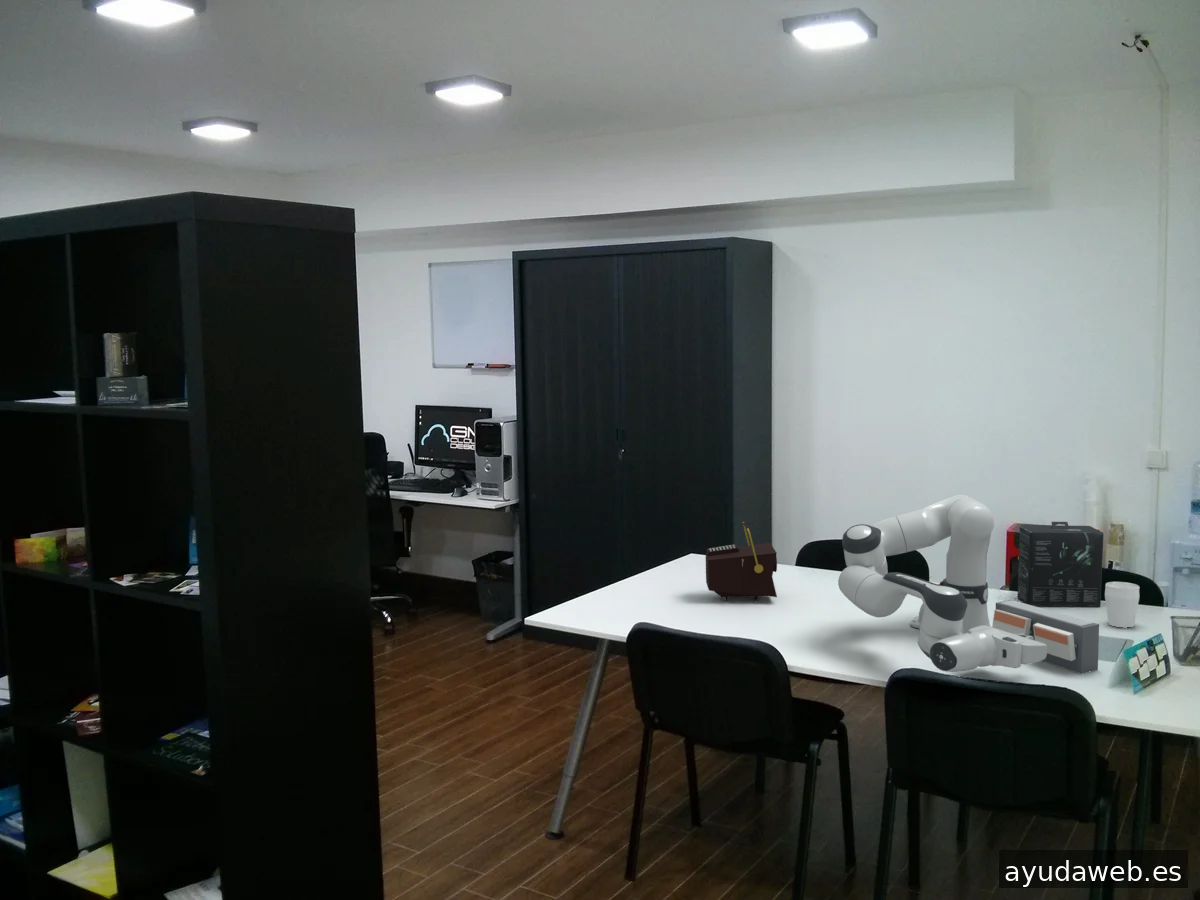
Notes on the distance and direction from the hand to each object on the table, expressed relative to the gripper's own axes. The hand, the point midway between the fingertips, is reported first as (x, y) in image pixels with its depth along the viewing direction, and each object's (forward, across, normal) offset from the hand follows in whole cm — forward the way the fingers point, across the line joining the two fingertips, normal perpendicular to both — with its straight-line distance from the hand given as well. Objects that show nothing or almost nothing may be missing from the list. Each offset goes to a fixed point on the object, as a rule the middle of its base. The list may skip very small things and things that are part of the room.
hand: (1028, 638), depth 259 cm
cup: (+56, -16, -10) cm, 59 cm away
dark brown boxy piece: (-20, -99, -10) cm, 102 cm away
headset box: (+62, -42, -10) cm, 76 cm away
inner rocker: (+9, -14, -6) cm, 18 cm away
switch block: (+17, -7, -9) cm, 21 cm away
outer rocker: (+10, 0, -6) cm, 12 cm away
